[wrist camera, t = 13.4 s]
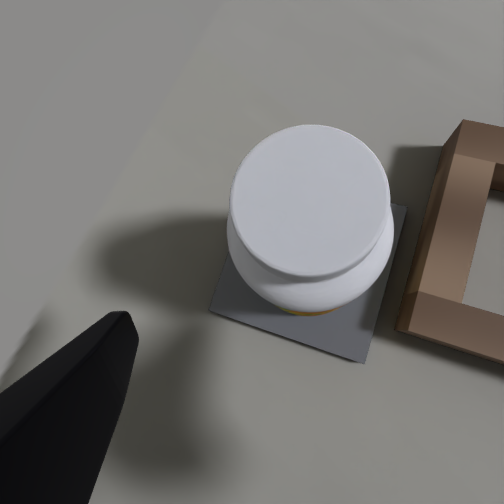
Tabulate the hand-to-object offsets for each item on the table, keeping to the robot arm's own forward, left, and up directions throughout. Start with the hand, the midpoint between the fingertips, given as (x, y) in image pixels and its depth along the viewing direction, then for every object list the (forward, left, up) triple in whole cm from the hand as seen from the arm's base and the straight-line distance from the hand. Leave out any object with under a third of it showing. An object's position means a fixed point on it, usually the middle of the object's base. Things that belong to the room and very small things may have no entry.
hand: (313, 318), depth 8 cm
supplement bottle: (+3, +1, -10) cm, 10 cm away
